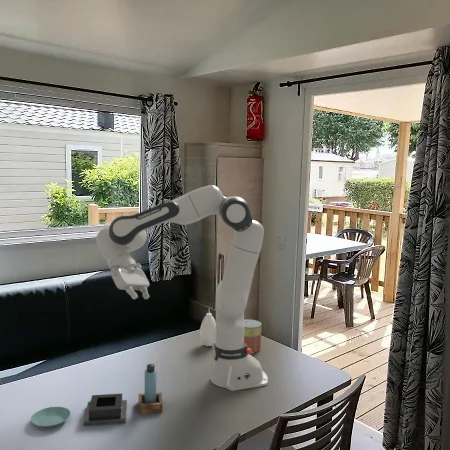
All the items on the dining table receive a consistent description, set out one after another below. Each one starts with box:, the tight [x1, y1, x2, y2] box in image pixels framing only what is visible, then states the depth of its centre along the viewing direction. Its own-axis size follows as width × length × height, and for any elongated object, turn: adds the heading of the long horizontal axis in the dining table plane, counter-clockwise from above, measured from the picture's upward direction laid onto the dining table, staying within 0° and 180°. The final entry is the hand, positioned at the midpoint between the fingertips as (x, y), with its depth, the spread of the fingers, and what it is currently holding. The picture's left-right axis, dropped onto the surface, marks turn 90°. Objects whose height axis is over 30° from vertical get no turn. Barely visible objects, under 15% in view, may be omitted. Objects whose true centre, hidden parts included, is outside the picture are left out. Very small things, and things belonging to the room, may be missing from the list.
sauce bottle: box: [199, 308, 216, 347], centre depth 212 cm, size 8×8×18 cm
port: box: [83, 393, 128, 427], centre depth 152 cm, size 13×12×4 cm
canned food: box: [244, 318, 263, 353], centre depth 211 cm, size 11×11×12 cm
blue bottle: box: [143, 363, 158, 404], centre depth 157 cm, size 4×4×15 cm
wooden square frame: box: [137, 392, 164, 415], centre depth 157 cm, size 8×8×3 cm
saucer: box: [30, 406, 71, 429], centre depth 147 cm, size 12×12×2 cm
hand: (141, 298), depth 165 cm, fingers open, 8 cm apart
